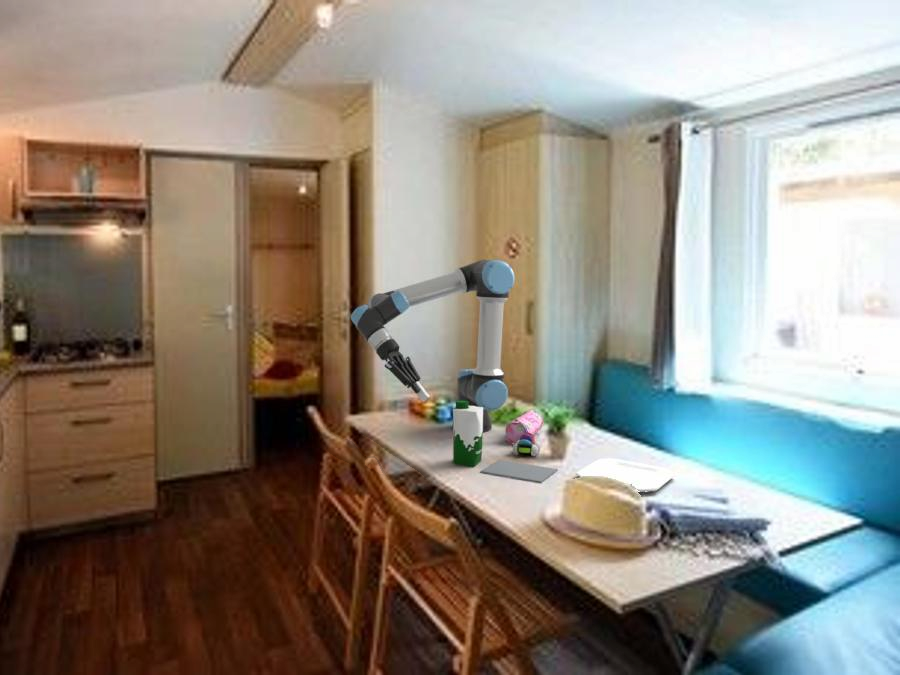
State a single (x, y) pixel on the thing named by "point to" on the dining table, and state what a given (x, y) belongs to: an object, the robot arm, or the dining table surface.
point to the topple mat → (519, 471)
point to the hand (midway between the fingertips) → (426, 399)
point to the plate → (629, 473)
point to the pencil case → (524, 425)
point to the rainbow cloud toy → (526, 445)
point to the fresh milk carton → (467, 434)
